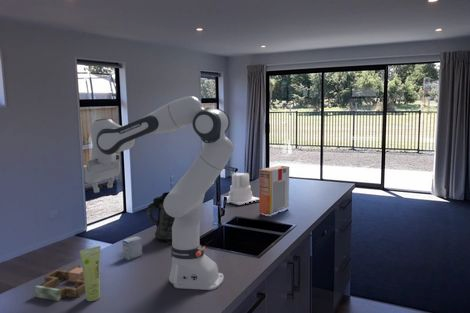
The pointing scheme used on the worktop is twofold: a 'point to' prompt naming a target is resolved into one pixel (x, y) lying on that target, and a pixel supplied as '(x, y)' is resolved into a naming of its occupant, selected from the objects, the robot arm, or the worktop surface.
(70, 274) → the terracotta block
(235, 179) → the recessed light fixture
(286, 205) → the pasta box
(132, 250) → the medicine box
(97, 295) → the tube
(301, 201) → the worktop surface
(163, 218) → the beer stein
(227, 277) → the worktop surface
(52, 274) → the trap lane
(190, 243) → the robot arm
